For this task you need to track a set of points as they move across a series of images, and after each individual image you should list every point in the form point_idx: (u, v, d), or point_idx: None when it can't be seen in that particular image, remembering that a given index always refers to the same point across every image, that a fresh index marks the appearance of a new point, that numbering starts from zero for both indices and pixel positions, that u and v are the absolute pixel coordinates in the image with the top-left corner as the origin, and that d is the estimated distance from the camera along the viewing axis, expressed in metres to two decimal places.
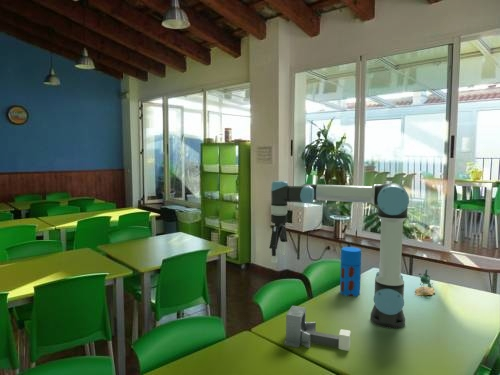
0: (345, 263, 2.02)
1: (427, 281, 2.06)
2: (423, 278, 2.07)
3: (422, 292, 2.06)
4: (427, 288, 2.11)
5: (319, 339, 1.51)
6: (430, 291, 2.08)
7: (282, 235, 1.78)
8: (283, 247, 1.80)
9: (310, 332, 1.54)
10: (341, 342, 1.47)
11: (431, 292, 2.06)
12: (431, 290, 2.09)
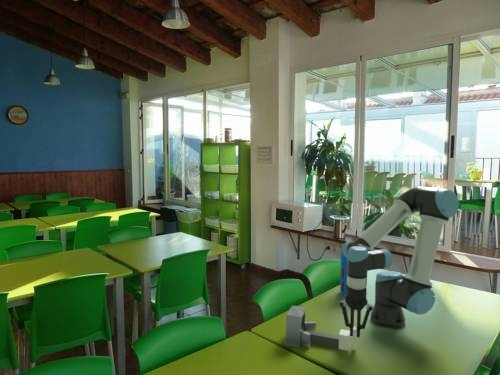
0: (345, 263, 2.02)
1: None
2: None
3: None
4: None
5: (319, 339, 1.51)
6: None
7: (357, 316, 1.46)
8: None
9: (310, 332, 1.54)
10: (341, 342, 1.47)
11: None
12: None
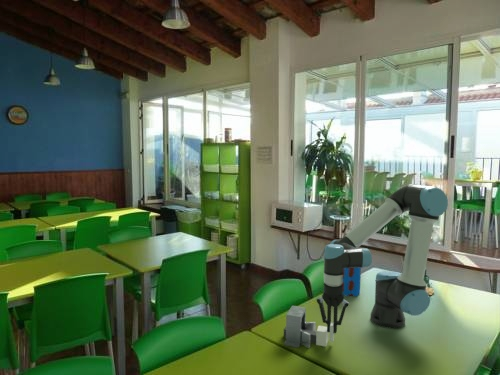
0: None
1: (426, 281, 2.06)
2: None
3: None
4: (426, 288, 2.11)
5: None
6: (429, 291, 2.07)
7: None
8: None
9: None
10: (318, 338, 1.50)
11: (430, 292, 2.06)
12: (430, 290, 2.08)
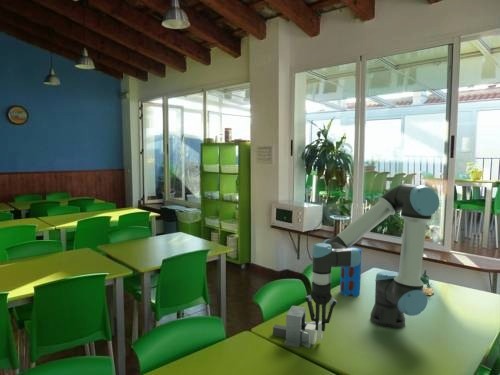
0: None
1: (426, 281, 2.06)
2: (422, 278, 2.06)
3: None
4: (426, 288, 2.11)
5: None
6: (429, 291, 2.07)
7: (322, 310, 1.51)
8: None
9: (278, 326, 1.59)
10: None
11: (430, 292, 2.06)
12: (430, 290, 2.08)
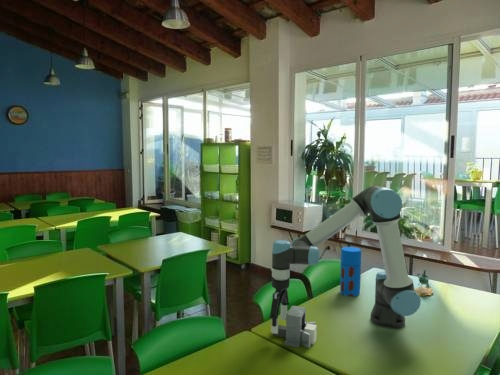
0: (345, 263, 2.02)
1: (425, 281, 2.05)
2: (421, 278, 2.06)
3: (420, 292, 2.06)
4: (425, 288, 2.11)
5: None
6: (428, 291, 2.07)
7: (283, 299, 1.61)
8: (284, 311, 1.64)
9: (278, 326, 1.59)
10: None
11: (429, 292, 2.06)
12: (429, 290, 2.08)
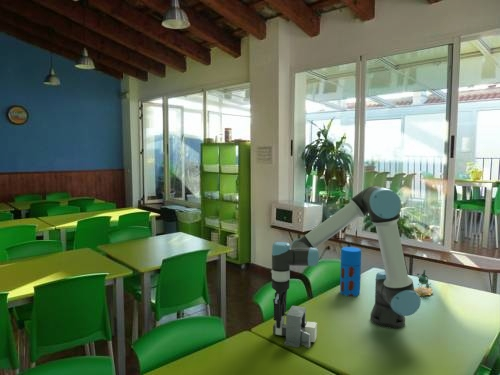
0: (345, 263, 2.02)
1: (425, 281, 2.05)
2: (421, 278, 2.06)
3: (420, 292, 2.06)
4: (425, 288, 2.11)
5: None
6: (428, 291, 2.07)
7: (282, 305, 1.59)
8: (282, 322, 1.60)
9: None
10: None
11: (429, 292, 2.06)
12: (429, 290, 2.08)
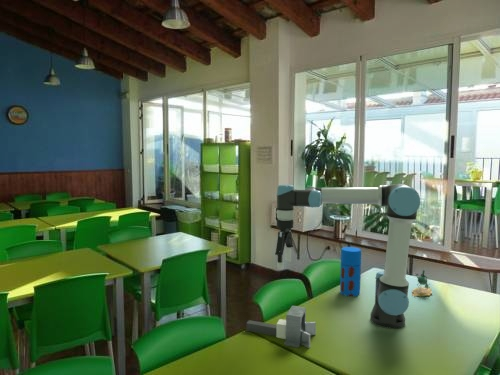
0: (345, 263, 2.02)
1: (424, 282, 2.05)
2: (420, 279, 2.06)
3: (419, 293, 2.05)
4: (424, 289, 2.10)
5: (259, 328, 1.60)
6: (427, 292, 2.07)
7: (288, 240, 1.72)
8: (289, 253, 1.75)
9: (252, 322, 1.63)
10: (278, 331, 1.56)
11: (428, 293, 2.05)
12: (428, 291, 2.08)
